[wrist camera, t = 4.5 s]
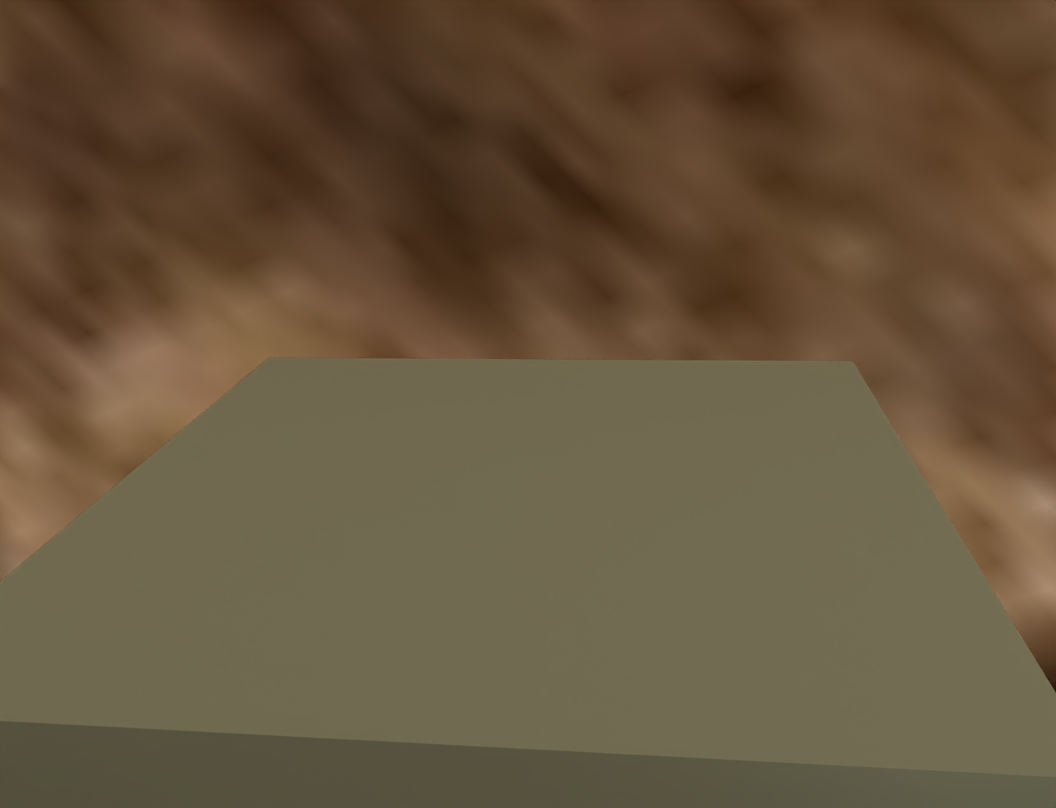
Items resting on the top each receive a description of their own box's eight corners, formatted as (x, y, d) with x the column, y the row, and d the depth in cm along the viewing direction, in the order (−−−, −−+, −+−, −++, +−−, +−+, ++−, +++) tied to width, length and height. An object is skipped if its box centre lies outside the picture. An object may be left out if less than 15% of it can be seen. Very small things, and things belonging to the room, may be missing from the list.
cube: (324, 812, 11) (64, 1423, 6) (268, 357, 9) (-156, 713, 4) (813, 842, 10) (952, 1549, 5) (853, 360, 8) (1111, 778, 4)
